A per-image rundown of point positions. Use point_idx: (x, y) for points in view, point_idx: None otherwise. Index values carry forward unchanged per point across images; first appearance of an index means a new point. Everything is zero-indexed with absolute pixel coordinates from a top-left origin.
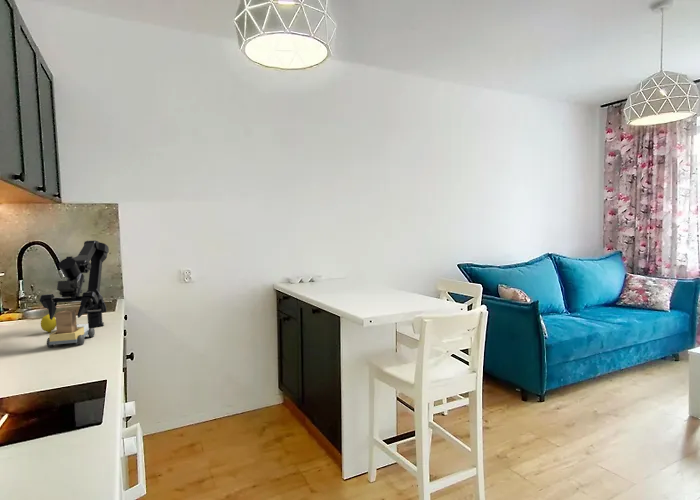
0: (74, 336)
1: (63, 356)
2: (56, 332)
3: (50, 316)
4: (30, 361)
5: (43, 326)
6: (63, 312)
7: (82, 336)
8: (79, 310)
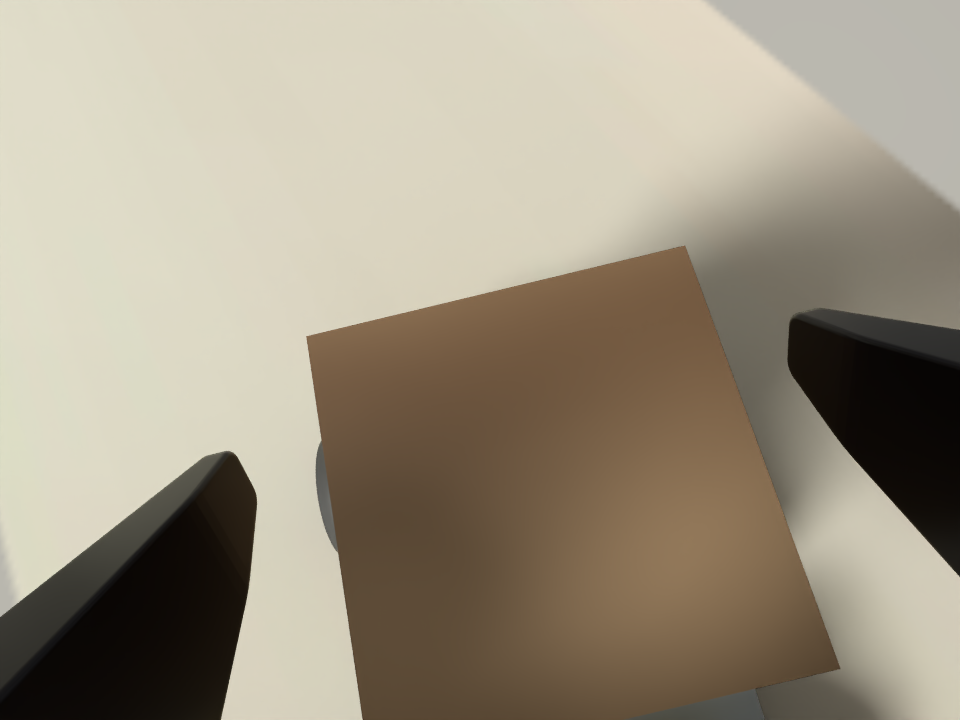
0: None
1: (323, 126)
2: None
3: (835, 317)
4: (520, 27)
5: None
6: (536, 369)
7: (324, 493)
8: (128, 542)
